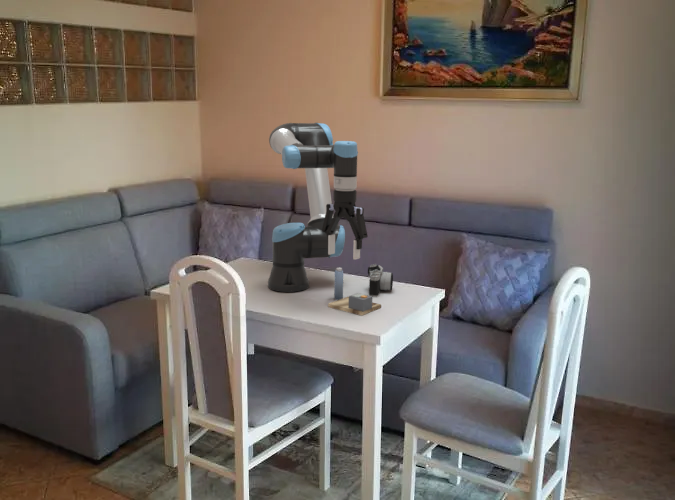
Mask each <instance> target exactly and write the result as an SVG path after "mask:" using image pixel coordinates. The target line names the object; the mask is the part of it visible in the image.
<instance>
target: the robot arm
mask: <svg viewBox="0 0 675 500" xmlns="http://www.w3.org/2000/svg"><path fill="white" fill-rule="evenodd" d="M333 137H334V136H333V134H332V130H331V128H330V126H329V125H328V124H326V123H318V122H314V123H313V122H303V123H302V122H289V123H288V122H287V123H283V124H280V125H278V126H276V127H275V128H273V130H272V131H271V133H270V134H269V138H268V143H269V146H270V149H272V151H273V152H275V153H276V154H279V155H281V159H282V160H281V162H282V165H283V167H284V168H285V169H291V170H292V169H293V170H297V169H304V171H305V181H306V190H307V197H308V206H309V215H310V219H309V221H308V222H307V226H305V224H304V223H303V222H287V223H282V224H280V225H277V226H275V227H274V228H273V230H272V236H271V237H272V238H271V242H272V267H271V270H270V274H269V278H268V280H267V287H268V288H269V289H270V290H272V291H276V292H283V293H293V292H294V293H295V292H300V291H304V290H307V289H309V288H310V280H309V278H308V274H307V272H306V268H305V259H323V258H329V259H330V258H335V257H336V258H337V257H339V256H341V255H342V253H343V251H344V247H345V240H346V230H345V227H344V226H343V225H342V224H339V222H340V220H341V219H346V221H347V222H348V223H349V225H350V228H351V230H352V232H353V235H354V239H353V250H352V254H353V255H352V257H353V258H352V259H353V260H359V259H361V250H362V248H363V240H364V239H367V238H368V232H367V230H368V229H367V226H366V221H365V217H364V211H365V208H364V207H357V205H356V202H357V190H356V189H358V187H357V186H358V184H357V183H358V182H357V181H358V176H357V175H358V155H359V154H358V153H359V152H358V143H357V142H356V141H353V140H352V141H351V140H337V141H335V142H334V139H333ZM328 169H333V188H334V190H333V196H332V194H331V186H330V178H329V170H328ZM332 197H333V198H332ZM332 200H333V202H334V203H333V202H332Z"/></svg>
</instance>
